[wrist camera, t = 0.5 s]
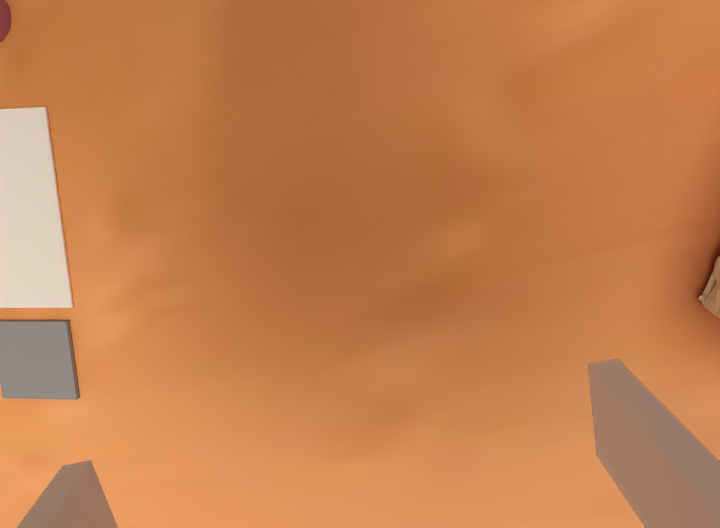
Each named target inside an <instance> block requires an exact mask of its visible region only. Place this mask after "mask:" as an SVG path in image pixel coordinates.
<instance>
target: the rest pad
mask: <svg viewBox="0 0 720 528" xmlns="http://www.w3.org/2000/svg"><path fill="white" fill-rule="evenodd" d="M0 384H1V390H2V396H3V398H25V399H74V400H77V399H78V398H80V395H79V387H78V380H77V373H76V366H75V358H74V351H73V344H72V336H71V329H70V322H69V320H0Z"/></svg>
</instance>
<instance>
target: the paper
mask: <svg viewBox="0 0 720 528" xmlns="http://www.w3.org/2000/svg"><path fill="white" fill-rule="evenodd" d="M72 307H74V304H73V297H72V290H71V282H70V275H69V267H68V260H67V253H66V245H65V238H64V230H63V223H62V216H61V208H60V201H59V193H58V186H57V179H56V171H55V164H54V156H53V149H52V141H51V134H50V127H49V119H48V112H47V107H35V108H15V109H0V308H72Z"/></svg>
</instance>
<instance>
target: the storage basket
mask: <svg viewBox="0 0 720 528" xmlns="http://www.w3.org/2000/svg"><path fill="white" fill-rule="evenodd" d="M699 300H700V301H701V302H702V305H703V306H704V307H705V308H706V309H707V310H708V311H710V312H711V313H712V314H713V315H715V316H716V317H718V318H719V319H720V256H719V257H718V258H717V260H716V262H715V268H714V271H713V273H712V275H711V277H710V279H709V281H708V283H707V286H706V288H705V290H704V291H703V293H702V295H701V296H699Z"/></svg>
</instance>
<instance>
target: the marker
mask: <svg viewBox="0 0 720 528" xmlns="http://www.w3.org/2000/svg"><path fill="white" fill-rule="evenodd" d="M10 25H11V14H10V10H9V7H8V4H7V3H6V1H5V0H0V42H1V41H2V40H3V39H4V38H5V37H6V35H7V34H8V32H9V29H10Z"/></svg>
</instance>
